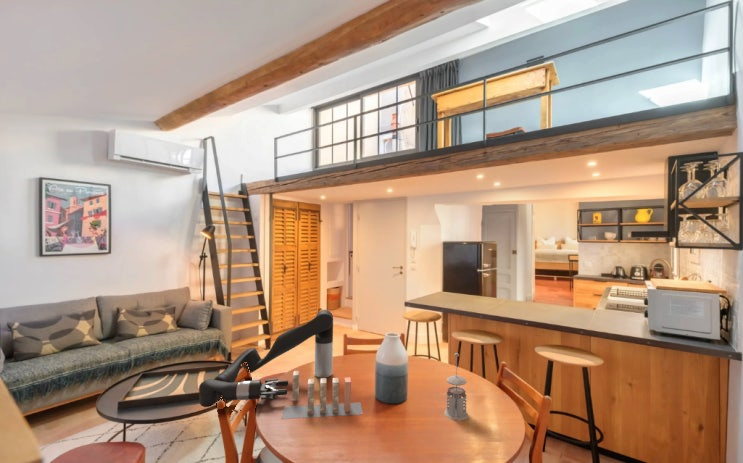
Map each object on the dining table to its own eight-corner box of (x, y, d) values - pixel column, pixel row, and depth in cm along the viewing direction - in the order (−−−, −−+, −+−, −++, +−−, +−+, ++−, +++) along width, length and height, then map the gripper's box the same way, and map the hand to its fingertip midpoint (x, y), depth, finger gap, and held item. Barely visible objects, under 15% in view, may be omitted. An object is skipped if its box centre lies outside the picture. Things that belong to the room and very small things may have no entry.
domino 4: (332, 412, 139) (332, 382, 139) (332, 406, 144) (332, 378, 144) (338, 412, 139) (338, 382, 140) (337, 406, 144) (338, 377, 144)
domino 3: (319, 413, 138) (320, 383, 139) (320, 407, 143) (320, 378, 143) (325, 413, 139) (326, 383, 139) (325, 407, 143) (326, 378, 144)
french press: (468, 410, 144) (469, 350, 145) (468, 424, 133) (469, 359, 134) (444, 406, 147) (445, 348, 148) (443, 420, 136) (443, 357, 136)
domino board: (284, 408, 144) (284, 406, 144) (360, 404, 148) (360, 402, 148) (281, 421, 134) (281, 418, 134) (363, 416, 138) (363, 414, 138)
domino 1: (292, 403, 149) (292, 375, 149) (293, 398, 153) (293, 371, 154) (298, 403, 149) (298, 375, 149) (298, 397, 154) (299, 370, 154)
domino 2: (307, 414, 138) (307, 383, 138) (307, 408, 142) (308, 379, 143) (313, 413, 138) (313, 383, 138) (313, 407, 143) (314, 378, 143)
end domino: (344, 411, 140) (345, 382, 140) (344, 406, 144) (344, 377, 145) (350, 411, 140) (351, 381, 140) (349, 405, 145) (350, 377, 145)
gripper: (251, 391, 155) (288, 388, 158) (245, 407, 141) (286, 403, 144) (251, 374, 155) (288, 372, 158) (246, 388, 141) (286, 386, 144)
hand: (287, 387), depth 151 cm, fingers open, 8 cm apart
